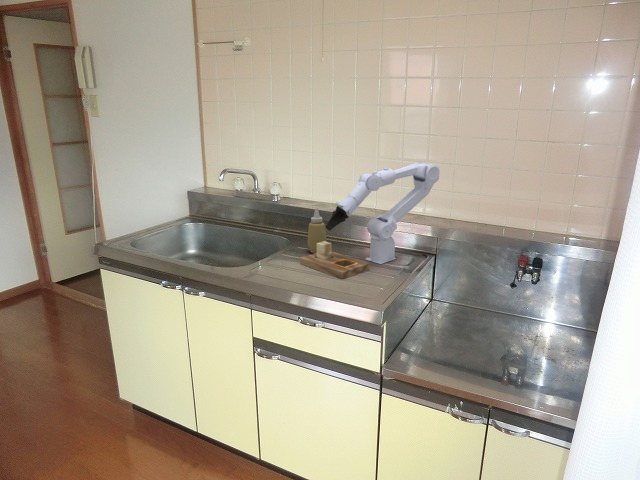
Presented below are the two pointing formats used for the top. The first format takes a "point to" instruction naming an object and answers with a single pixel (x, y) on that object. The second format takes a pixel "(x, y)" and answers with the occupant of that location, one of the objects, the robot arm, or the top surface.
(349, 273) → the wooden peg tray
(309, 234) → the squeeze bottle
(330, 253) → the peg
